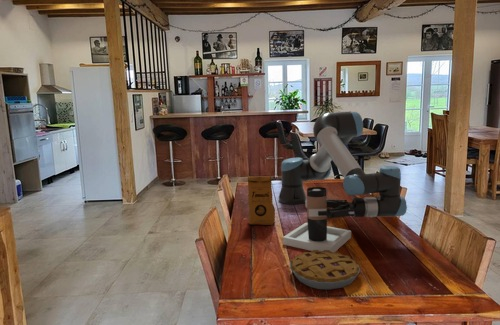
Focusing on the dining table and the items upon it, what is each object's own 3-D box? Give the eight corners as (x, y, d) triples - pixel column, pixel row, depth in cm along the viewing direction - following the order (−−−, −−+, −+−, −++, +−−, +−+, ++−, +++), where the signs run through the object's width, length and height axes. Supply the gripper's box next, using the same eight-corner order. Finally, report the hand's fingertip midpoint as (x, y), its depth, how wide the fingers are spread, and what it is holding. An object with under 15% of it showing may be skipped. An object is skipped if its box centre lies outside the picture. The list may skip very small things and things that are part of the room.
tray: (282, 244, 146) (282, 237, 146) (306, 229, 162) (306, 222, 162) (331, 255, 135) (331, 247, 134) (351, 237, 151) (351, 230, 150)
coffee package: (274, 227, 166) (273, 178, 162) (246, 226, 168) (244, 178, 164) (276, 220, 175) (275, 174, 172) (250, 219, 178) (248, 174, 174)
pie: (314, 299, 106) (314, 283, 105) (278, 268, 126) (277, 254, 125) (374, 282, 115) (375, 267, 114) (332, 256, 134) (332, 243, 134)
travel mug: (328, 235, 150) (327, 187, 148) (326, 242, 143) (325, 191, 140) (309, 234, 153) (308, 186, 150) (306, 240, 146) (304, 190, 143)
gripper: (372, 226, 134) (310, 227, 135) (356, 207, 157) (304, 208, 158) (372, 206, 133) (310, 207, 134) (356, 190, 156) (303, 191, 157)
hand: (307, 208), depth 146 cm, fingers open, 11 cm apart
